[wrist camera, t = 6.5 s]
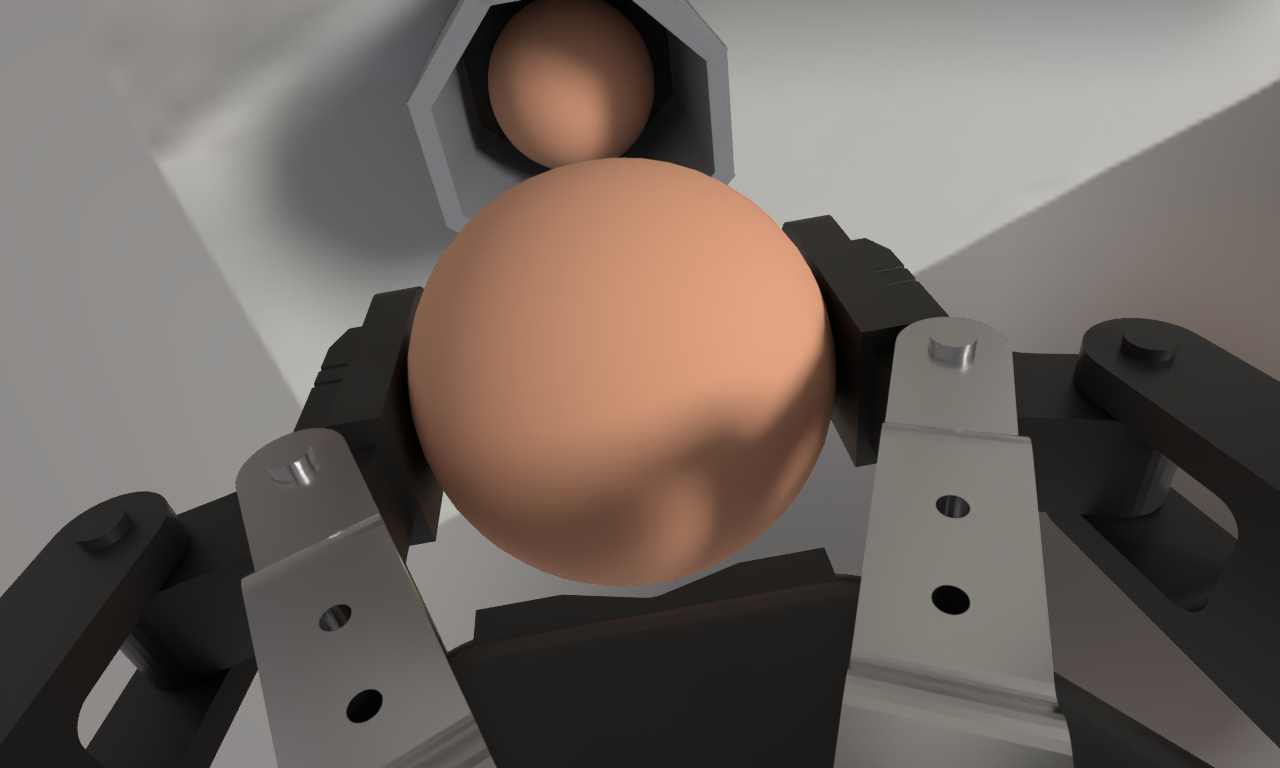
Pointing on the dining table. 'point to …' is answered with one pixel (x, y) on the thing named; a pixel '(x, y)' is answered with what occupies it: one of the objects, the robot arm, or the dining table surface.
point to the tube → (488, 165)
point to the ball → (621, 371)
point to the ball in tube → (570, 82)
